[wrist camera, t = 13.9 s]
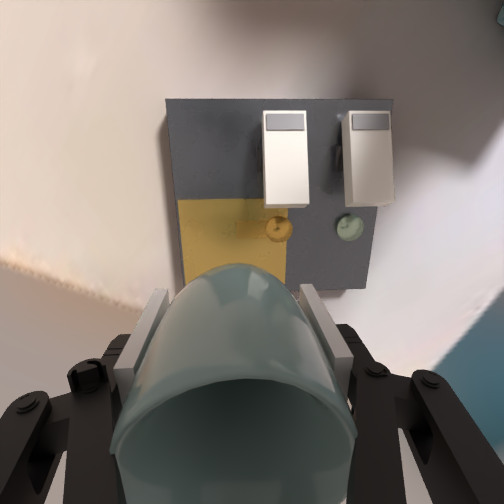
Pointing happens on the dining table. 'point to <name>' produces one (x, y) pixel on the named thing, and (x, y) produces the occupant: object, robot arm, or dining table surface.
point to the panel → (252, 193)
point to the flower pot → (501, 16)
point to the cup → (234, 401)
